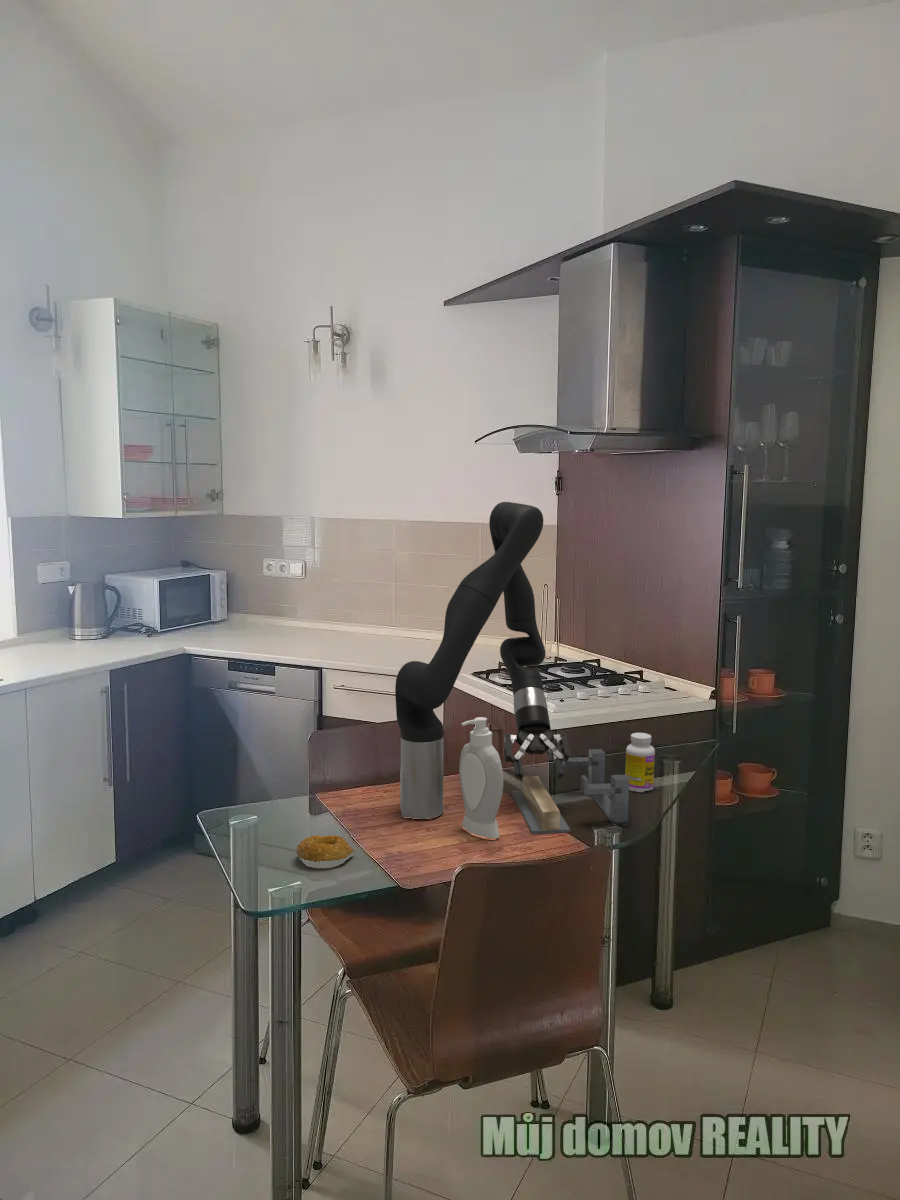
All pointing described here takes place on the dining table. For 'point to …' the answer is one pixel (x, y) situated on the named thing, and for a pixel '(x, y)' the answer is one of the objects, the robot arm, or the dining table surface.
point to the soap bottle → (481, 781)
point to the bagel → (323, 848)
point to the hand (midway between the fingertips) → (540, 777)
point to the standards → (603, 786)
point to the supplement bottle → (640, 763)
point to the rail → (541, 803)
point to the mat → (531, 818)
